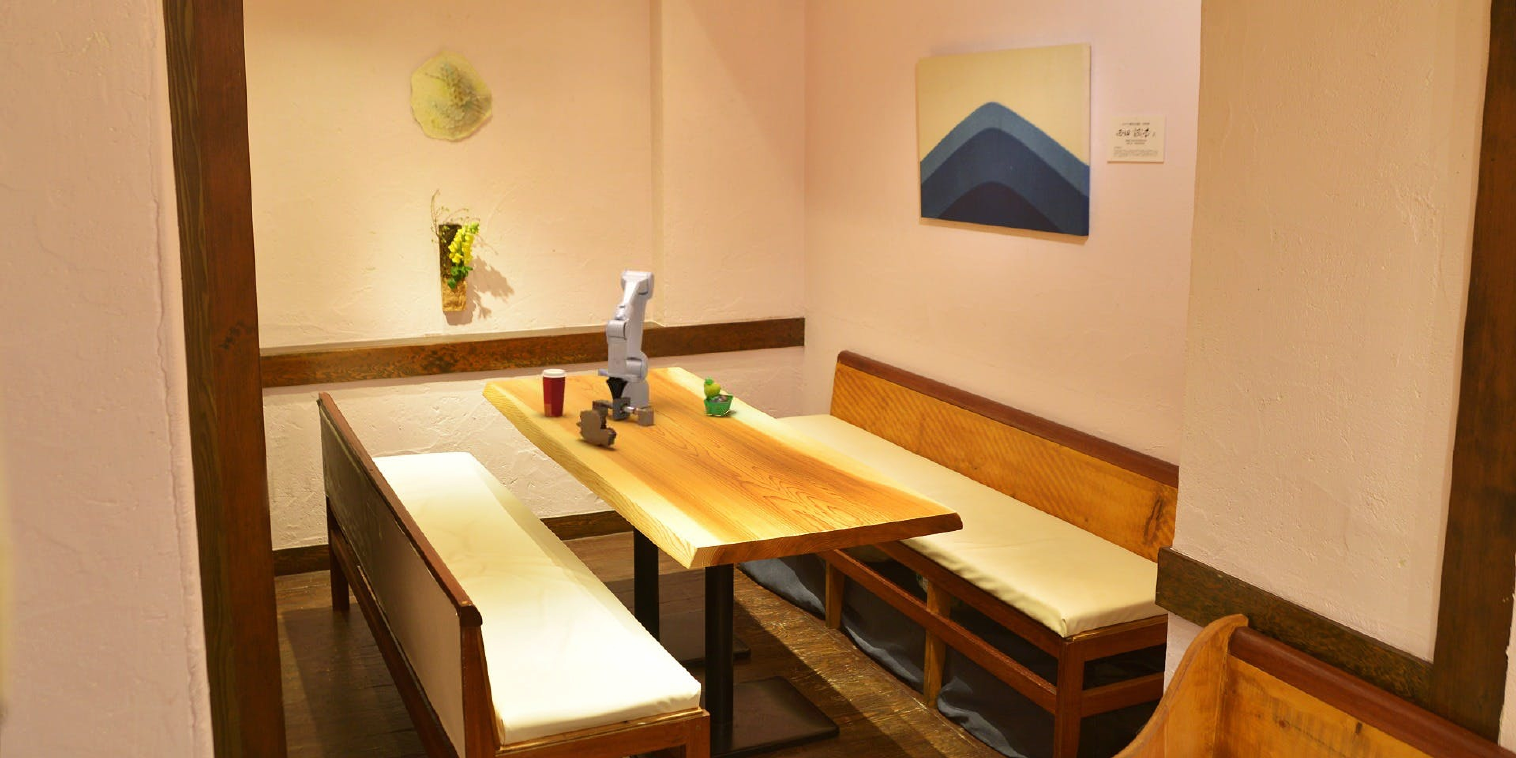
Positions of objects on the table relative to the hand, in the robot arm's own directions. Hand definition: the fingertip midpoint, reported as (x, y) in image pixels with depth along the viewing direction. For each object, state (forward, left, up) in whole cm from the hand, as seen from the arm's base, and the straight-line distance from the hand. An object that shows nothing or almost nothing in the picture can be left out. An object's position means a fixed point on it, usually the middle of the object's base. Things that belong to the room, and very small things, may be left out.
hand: (616, 401), depth 400 cm
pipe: (0, +3, -5) cm, 6 cm away
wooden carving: (+28, +18, -6) cm, 34 cm away
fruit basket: (-28, +18, -6) cm, 34 cm away
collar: (0, +2, -5) cm, 6 cm away
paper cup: (+11, -16, -5) cm, 20 cm away
